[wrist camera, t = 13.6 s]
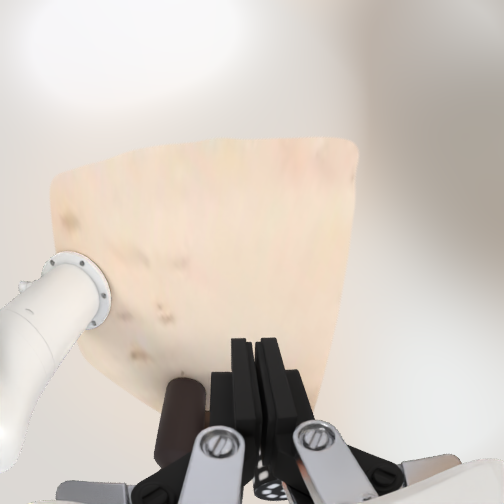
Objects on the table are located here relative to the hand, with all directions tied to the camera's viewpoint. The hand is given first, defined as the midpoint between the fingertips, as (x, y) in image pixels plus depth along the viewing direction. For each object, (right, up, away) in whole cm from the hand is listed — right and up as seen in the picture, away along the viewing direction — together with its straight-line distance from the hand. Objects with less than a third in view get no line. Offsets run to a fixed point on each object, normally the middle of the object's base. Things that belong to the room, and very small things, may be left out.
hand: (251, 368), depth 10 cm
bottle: (-11, -19, +34) cm, 40 cm away
